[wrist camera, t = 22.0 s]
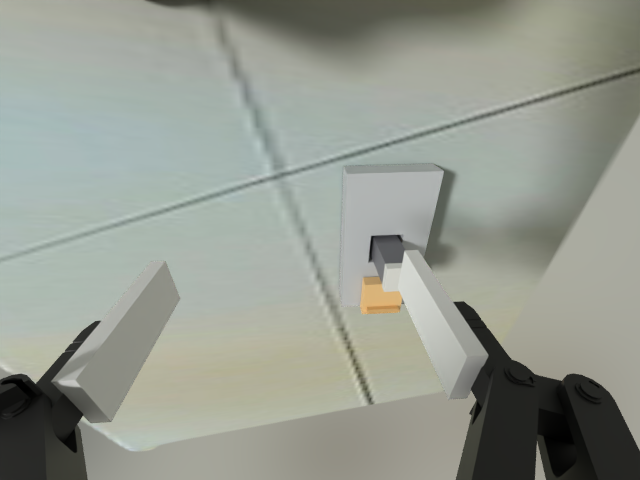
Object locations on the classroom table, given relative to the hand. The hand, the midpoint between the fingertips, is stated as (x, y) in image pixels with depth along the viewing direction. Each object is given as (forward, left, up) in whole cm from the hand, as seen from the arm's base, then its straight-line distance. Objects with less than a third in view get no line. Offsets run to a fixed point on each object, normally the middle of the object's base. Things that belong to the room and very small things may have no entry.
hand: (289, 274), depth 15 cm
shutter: (+24, +14, -24) cm, 37 cm away
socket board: (+15, +14, -29) cm, 35 cm away
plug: (+15, +14, -29) cm, 35 cm away
